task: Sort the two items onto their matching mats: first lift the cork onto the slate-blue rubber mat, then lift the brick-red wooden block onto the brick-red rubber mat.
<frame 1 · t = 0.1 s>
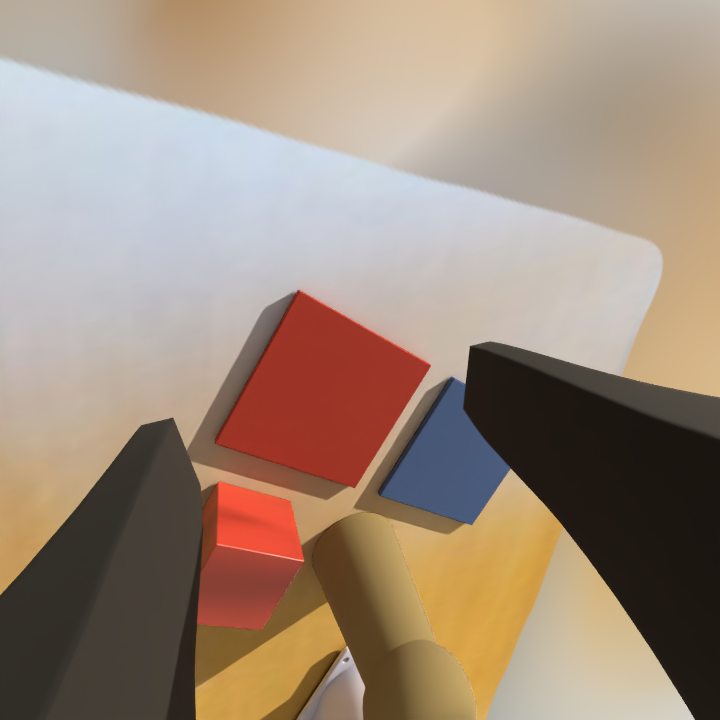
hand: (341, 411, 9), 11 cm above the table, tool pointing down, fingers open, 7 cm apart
cork: (354, 546, 25), on the table
blue mat: (460, 456, 25), on the table
red mat: (329, 398, 21), on the table
red block: (238, 522, 21), on the table
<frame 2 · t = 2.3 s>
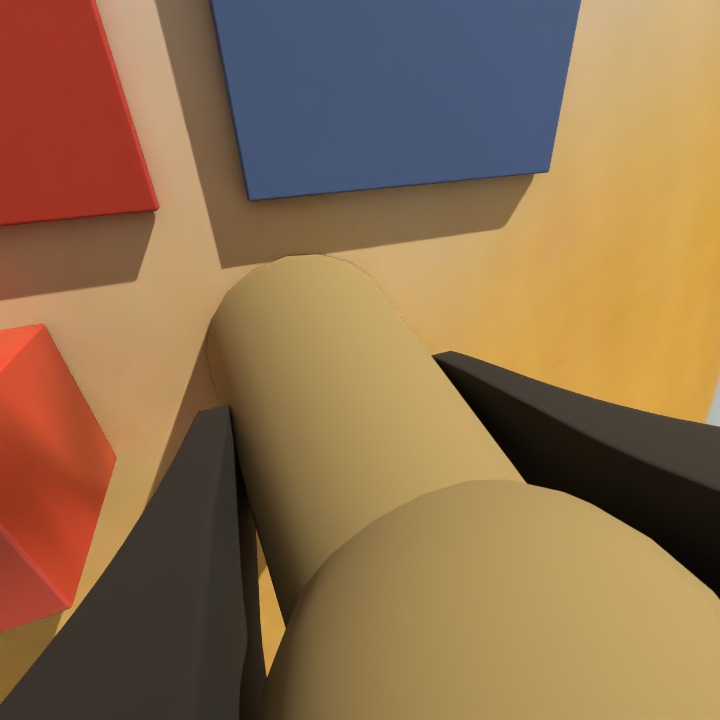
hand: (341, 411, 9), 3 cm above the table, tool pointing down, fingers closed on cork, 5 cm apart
cork: (307, 347, 12), on the table, touching gripper
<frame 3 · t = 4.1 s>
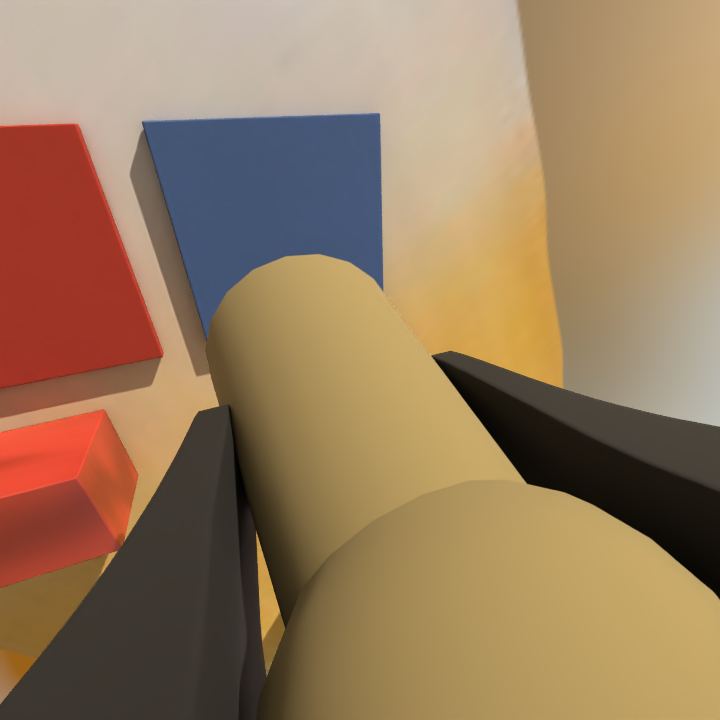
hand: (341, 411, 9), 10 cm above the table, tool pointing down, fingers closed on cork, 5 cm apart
cork: (307, 347, 12), point 7 cm above the table, touching gripper
blue mat: (287, 236, 16), on the table
red block: (71, 456, 18), on the table
when the fingers open (4 cm above the table, at t = 6.3 s): cork stays where it is, resting on blue mat.
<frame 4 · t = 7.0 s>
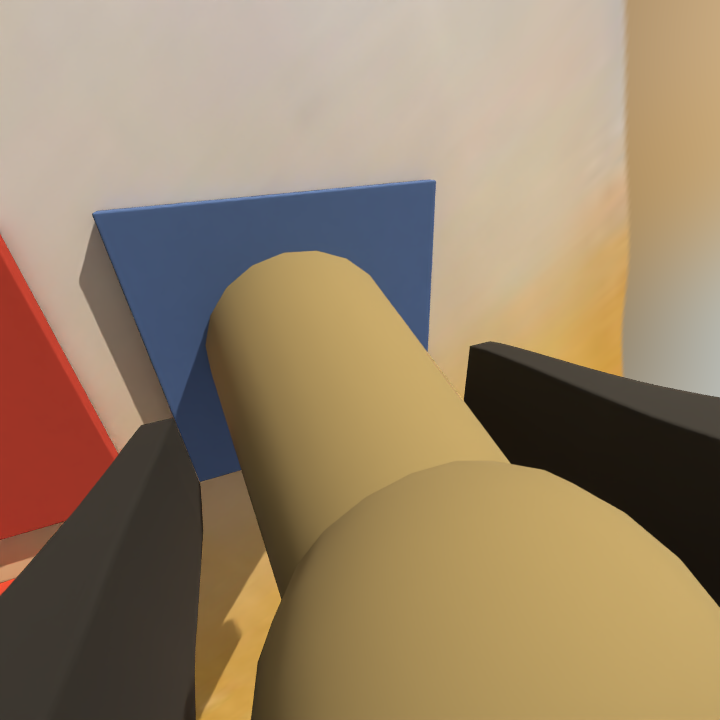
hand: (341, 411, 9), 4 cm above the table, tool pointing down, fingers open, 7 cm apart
cork: (305, 342, 12), resting on blue mat
blue mat: (304, 340, 12), on the table
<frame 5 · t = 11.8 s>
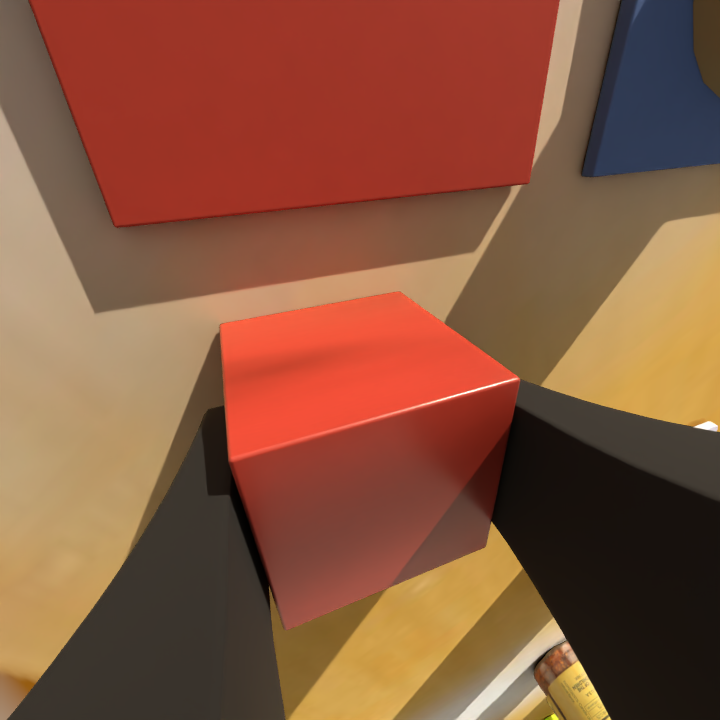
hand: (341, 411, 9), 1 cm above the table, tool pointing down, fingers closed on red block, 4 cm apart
sauce bottle: (557, 648, 32), on the table
red block: (324, 382, 10), on the table, touching gripper
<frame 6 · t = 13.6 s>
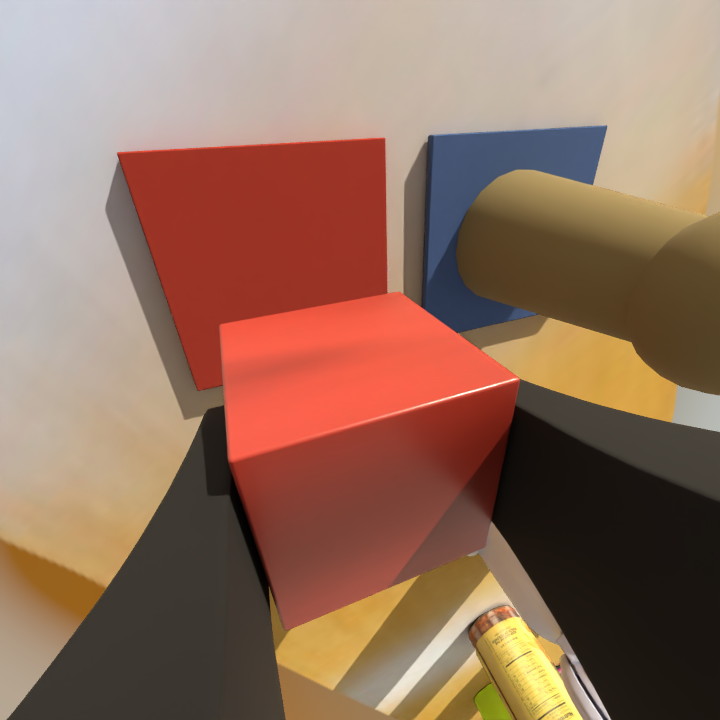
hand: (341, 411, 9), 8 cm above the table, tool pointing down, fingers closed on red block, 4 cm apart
cork: (507, 238, 18), resting on blue mat
soap dispenser: (489, 689, 55), on the table
blue mat: (505, 237, 18), on the table
red mat: (283, 271, 15), on the table
sauce bottle: (488, 616, 41), on the table
red block: (324, 382, 10), point 7 cm above the table, touching gripper
when the fingers open (2 cm above the table, at t = 15.7 s): red block stays where it is, resting on red mat.
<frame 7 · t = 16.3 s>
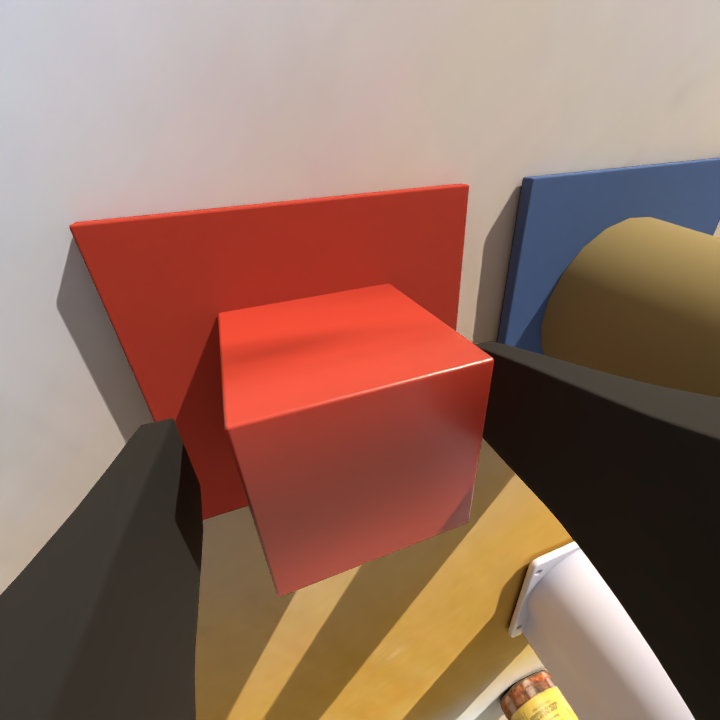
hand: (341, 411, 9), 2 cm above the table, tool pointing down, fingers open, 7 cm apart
cork: (603, 301, 14), resting on blue mat
blue mat: (599, 300, 14), on the table
red mat: (316, 364, 11), on the table
sauce bottle: (521, 682, 37), on the table
red block: (318, 370, 10), resting on red mat
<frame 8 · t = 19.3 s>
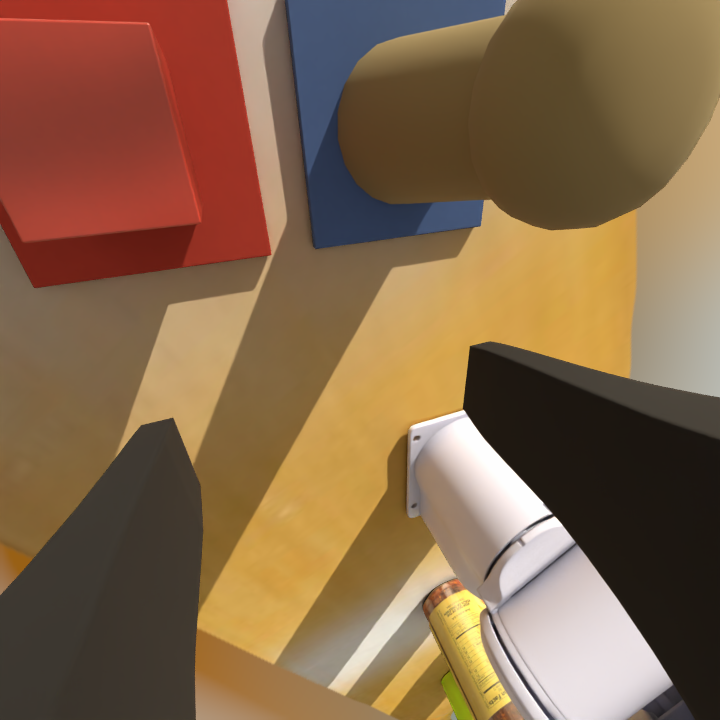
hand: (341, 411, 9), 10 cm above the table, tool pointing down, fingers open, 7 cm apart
cork: (402, 129, 16), resting on blue mat
soap dispenser: (457, 672, 53), on the table
blue mat: (400, 129, 16), on the table
red mat: (122, 144, 13), on the table
sauce bottle: (444, 590, 39), on the table
red block: (118, 143, 13), resting on red mat
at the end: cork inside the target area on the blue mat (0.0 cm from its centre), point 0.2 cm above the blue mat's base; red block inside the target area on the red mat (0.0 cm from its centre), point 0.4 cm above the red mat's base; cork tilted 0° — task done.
